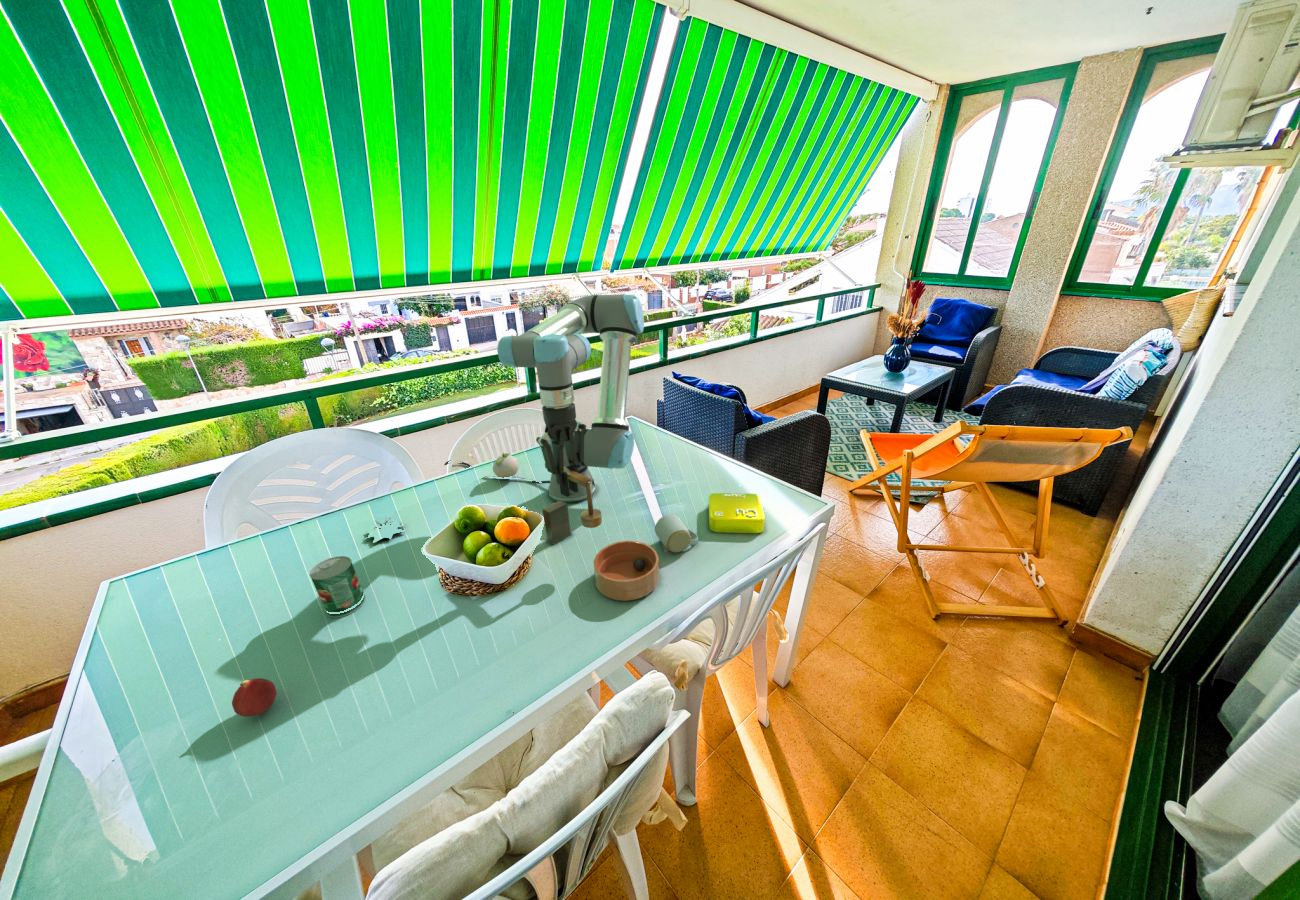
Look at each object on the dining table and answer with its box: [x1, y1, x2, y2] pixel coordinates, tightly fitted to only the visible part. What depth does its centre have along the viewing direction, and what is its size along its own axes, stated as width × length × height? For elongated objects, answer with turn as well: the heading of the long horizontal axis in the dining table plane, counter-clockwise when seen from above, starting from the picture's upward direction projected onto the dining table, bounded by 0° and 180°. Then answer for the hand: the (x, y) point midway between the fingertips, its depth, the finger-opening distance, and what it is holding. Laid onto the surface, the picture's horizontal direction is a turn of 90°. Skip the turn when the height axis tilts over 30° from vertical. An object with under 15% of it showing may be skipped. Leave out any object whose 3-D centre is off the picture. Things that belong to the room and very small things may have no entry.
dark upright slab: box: [542, 500, 572, 546], centre depth 125 cm, size 3×6×10 cm, turn 137°
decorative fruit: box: [492, 452, 520, 478], centre depth 159 cm, size 9×8×10 cm
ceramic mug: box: [654, 513, 699, 553], centre depth 121 cm, size 11×8×8 cm
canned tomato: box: [309, 555, 366, 619], centre depth 104 cm, size 8×8×11 cm
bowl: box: [593, 540, 660, 602], centre depth 109 cm, size 15×15×6 cm
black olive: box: [633, 558, 645, 571], centre depth 112 cm, size 3×3×3 cm
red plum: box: [231, 677, 278, 718], centre depth 80 cm, size 6×6×8 cm
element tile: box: [708, 492, 766, 534], centre depth 132 cm, size 15×15×5 cm
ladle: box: [544, 463, 603, 529], centre depth 115 cm, size 18×5×12 cm, turn 47°
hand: (569, 492), depth 115 cm, fingers closed on ladle, 2 cm apart
